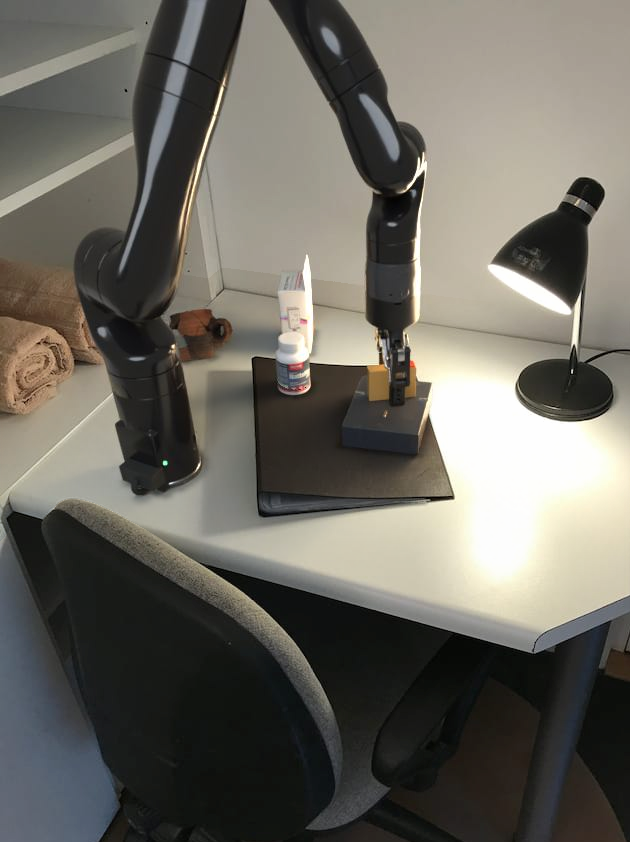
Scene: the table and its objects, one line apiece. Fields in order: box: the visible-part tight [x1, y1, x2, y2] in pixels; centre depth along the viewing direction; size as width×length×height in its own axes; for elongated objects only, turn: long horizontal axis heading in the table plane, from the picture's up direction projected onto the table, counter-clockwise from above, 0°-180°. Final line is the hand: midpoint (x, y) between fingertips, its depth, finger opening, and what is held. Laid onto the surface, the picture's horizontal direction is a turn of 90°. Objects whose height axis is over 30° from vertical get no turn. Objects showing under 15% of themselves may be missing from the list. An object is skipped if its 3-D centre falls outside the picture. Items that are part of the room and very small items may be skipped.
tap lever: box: [366, 360, 417, 401], centre depth 111 cm, size 7×2×5 cm, turn 99°
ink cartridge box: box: [276, 254, 314, 355], centre depth 128 cm, size 9×5×15 cm, turn 179°
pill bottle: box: [274, 332, 311, 396], centre depth 119 cm, size 5×5×9 cm
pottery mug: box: [168, 308, 234, 362], centre depth 131 cm, size 12×10×8 cm
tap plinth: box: [341, 375, 433, 455], centre depth 112 cm, size 15×11×4 cm
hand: (391, 389), depth 112 cm, fingers open, 8 cm apart
